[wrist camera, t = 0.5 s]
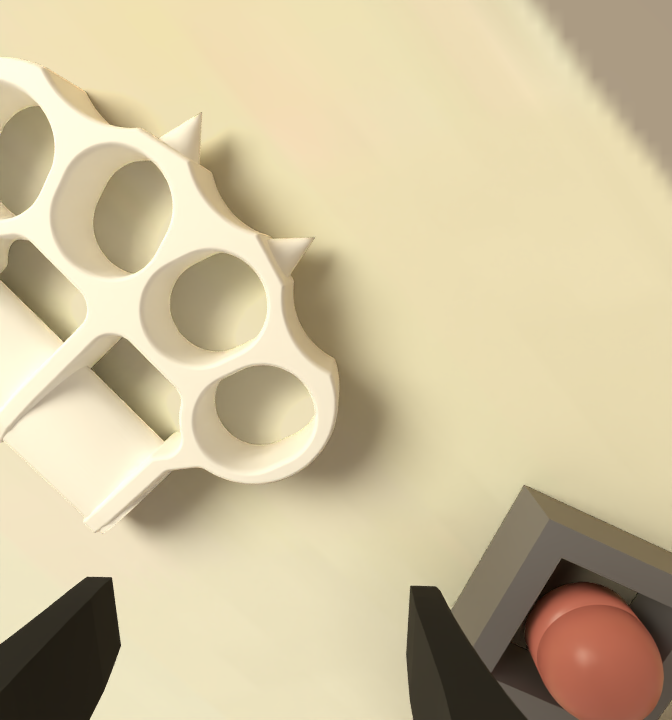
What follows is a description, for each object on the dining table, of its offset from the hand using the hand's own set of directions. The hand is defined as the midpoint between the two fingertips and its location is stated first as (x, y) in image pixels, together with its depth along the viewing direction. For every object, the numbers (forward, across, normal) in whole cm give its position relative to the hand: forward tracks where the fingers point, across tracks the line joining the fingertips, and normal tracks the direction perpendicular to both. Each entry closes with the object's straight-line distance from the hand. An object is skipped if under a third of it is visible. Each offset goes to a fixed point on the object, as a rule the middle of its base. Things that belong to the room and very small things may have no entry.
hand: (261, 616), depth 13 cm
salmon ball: (+8, -12, +7) cm, 16 cm away
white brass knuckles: (+12, +7, -5) cm, 14 cm away
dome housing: (+10, -12, +8) cm, 17 cm away
